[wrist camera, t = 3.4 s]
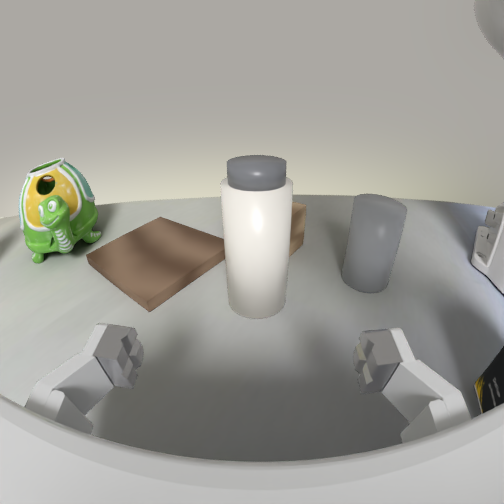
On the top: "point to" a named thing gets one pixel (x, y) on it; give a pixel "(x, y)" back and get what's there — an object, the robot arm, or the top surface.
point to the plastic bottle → (256, 234)
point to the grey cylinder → (372, 242)
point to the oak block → (297, 226)
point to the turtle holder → (56, 209)
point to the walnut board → (157, 260)
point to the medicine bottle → (491, 384)
